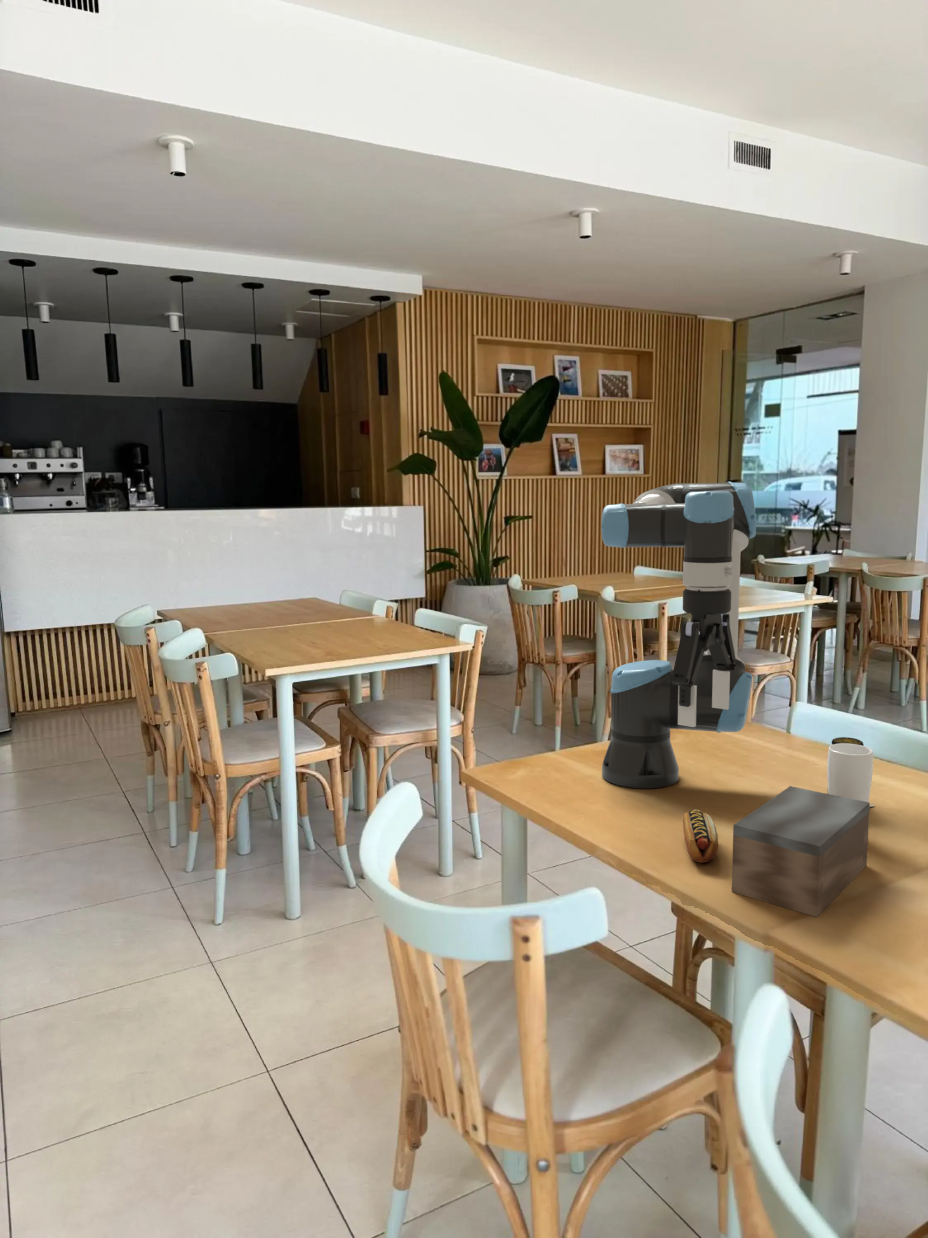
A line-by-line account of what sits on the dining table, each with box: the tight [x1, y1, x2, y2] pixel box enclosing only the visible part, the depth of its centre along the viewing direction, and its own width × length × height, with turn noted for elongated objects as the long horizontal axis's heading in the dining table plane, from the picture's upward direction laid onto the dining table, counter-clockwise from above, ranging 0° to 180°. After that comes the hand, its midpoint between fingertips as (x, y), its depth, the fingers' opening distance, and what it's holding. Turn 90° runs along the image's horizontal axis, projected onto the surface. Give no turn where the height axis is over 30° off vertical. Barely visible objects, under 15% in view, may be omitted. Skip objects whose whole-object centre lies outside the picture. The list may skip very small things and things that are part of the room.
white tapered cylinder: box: [826, 743, 874, 803], centre depth 142 cm, size 7×7×15 cm
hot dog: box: [682, 809, 719, 864], centre depth 138 cm, size 5×13×5 cm, turn 170°
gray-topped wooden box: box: [731, 785, 871, 918], centre depth 128 cm, size 12×21×10 cm, turn 139°
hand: (704, 716), depth 143 cm, fingers open, 13 cm apart
